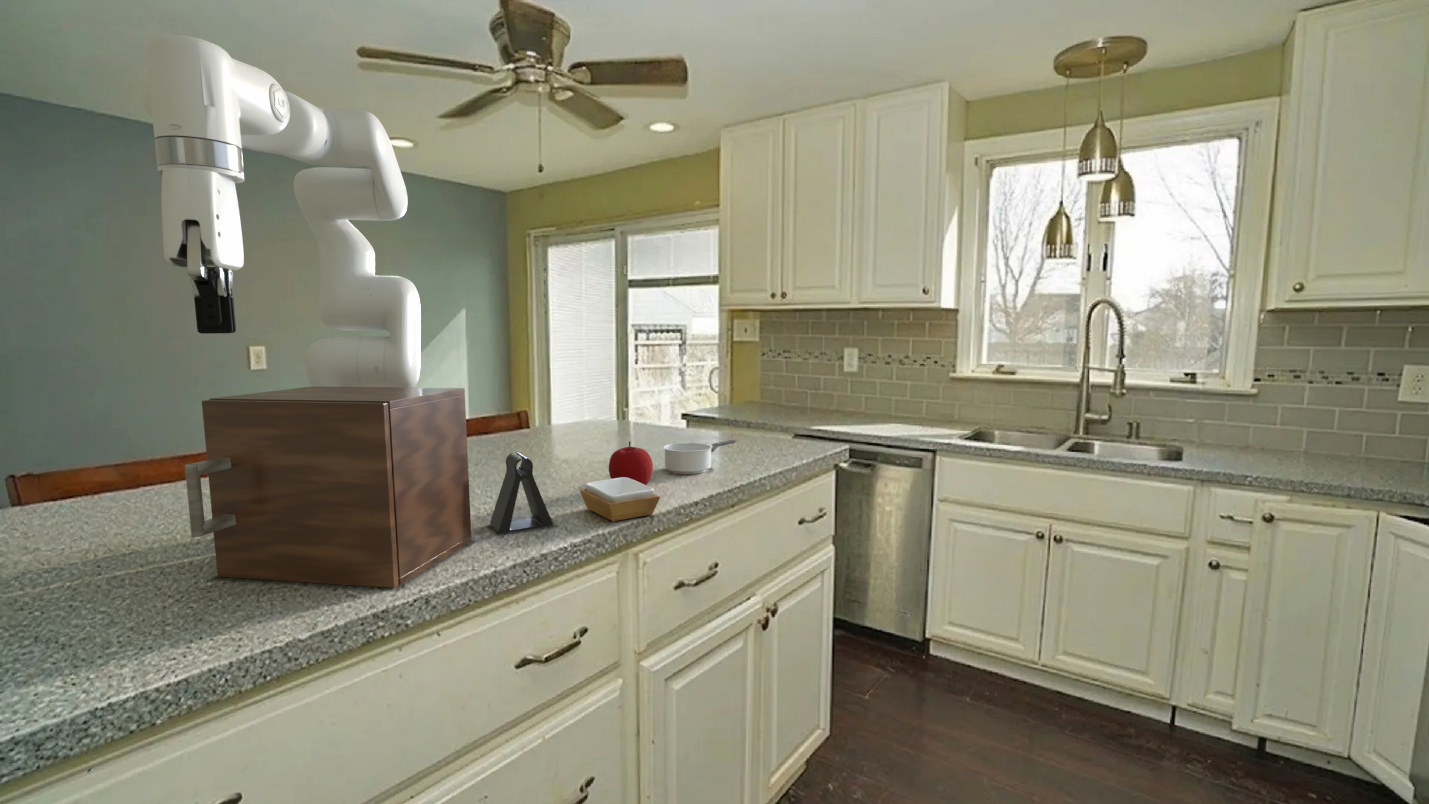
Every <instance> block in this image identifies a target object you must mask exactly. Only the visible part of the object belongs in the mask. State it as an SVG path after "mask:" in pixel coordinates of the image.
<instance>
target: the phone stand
mask: <svg viewBox="0 0 1429 804" xmlns="http://www.w3.org/2000/svg"><path fill="white" fill-rule="evenodd" d="M519 462H521V463H520V465H519V466H518V464H519ZM517 466H518V468H517ZM505 467H506V470H505V475H504V477H503V481H502V484H501V487H500V490H499V493H498V496H497V500H496V503H495V506H494V509H493V512H492V516H491V518H490V521H489V524H490V527H492V529H494V531H496V533H497V534H498V535H502V534H508V533H509V534H510V533H515V532H520V531H521V532H522V531H526V530H528V531H529V530H533V529H534V530H535V529H540V528H547V527H553V525H554V523H553V521H552V518H551V515H550V513H549V511H548V509H547V506H546V503H545V501H544V499H543V497H542V494H541V492H540V490H539V487H538V484H537V482H536V479H535V478H534V473H533V471H534V464H533V461H532V459H529V458H528V457H526V456H525V455H523V454H522V453H520V452H516V454H514V453H513V452H511V453H509V454H508V455H507V456H506V458H505ZM521 485H522V488H523V491H524V494H525V498H526V501H527V503H528V507H529V510H530V513H531V516H530V517H523V518H517V519H513V516H514V512H515V507H516V503H517V499H518V495H519V489H520V486H521Z"/></svg>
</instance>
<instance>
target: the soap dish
mask: <svg viewBox="0 0 1429 804" xmlns="http://www.w3.org/2000/svg"><path fill="white" fill-rule="evenodd" d="M584 487H585V488H580V489H579V493H580V495H581V497H582V499H583V502H584V504H585V507H586V508H587V509H588V510H589V511H592V512H593V513H596V514H598V515H599V516H602V517H603V518H605V519H606V520H609V521H610V522H611V523H615V522H617V521H622V520H629V519H633V518H638V517H639V518H640V517H644V516H646V517H651V516H652V515H653V514H654V511H655V510H656V508H657V505H658V504H659V501H660V499H661V496H660V495H659V494H656V493H655V489H654V488H653V487H651V486H648V485H644V484H642V483H640V482H637V481H635V480H632V479H630V478H627V477H621V478H614V479H611V478H607V479H601V480H595V481H589V482H585V483H584Z"/></svg>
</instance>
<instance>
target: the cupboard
mask: <svg viewBox="0 0 1429 804" xmlns="http://www.w3.org/2000/svg"><path fill="white" fill-rule="evenodd" d="M208 400H246V401H309V402H373V403H388V411H389V428H390V445H391V462H392V479H393V496H394V513H395V530H396V547H397V564H398V581H399V585H398V586H400V585H403V584H404V583H407V582H408V581H409V580H411V579H413V578H414V577H416V576H417V575H419V574H420V573H422V572H424V571H426V570H427V569H429V568H430V567H432V566H434V565H435V564H437V563H439V562H440V561H442V560H443V559H445V558H447V557H448V556H450V555H452V554H453V553H455V552H456V551H458V550H460V549H461V548H463V547H464V546H466V545H468V544H470V543H471V542H472V518H471V499H470V497H471V496H470V476H469V455H468V452H469V451H468V434H467V432H468V431H467V412H466V411H467V409H466V389H465V388H464V387H413V388H401V387H313V386H312V387H311V386H304V387H295V388H285V389H278V390H271V391H270V390H269V391H262V392H261V391H260V392H253V393H244V394H236V395H235V394H234V395H229V396H219V397H211V398H209V399H208Z"/></svg>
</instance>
